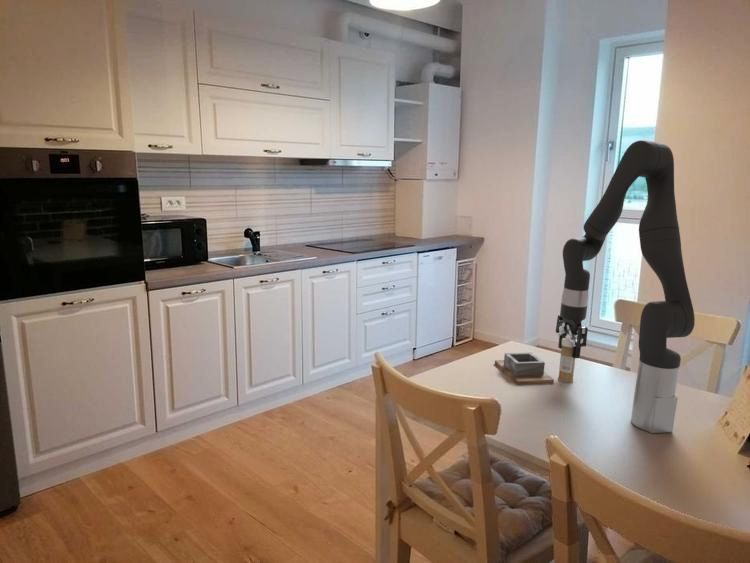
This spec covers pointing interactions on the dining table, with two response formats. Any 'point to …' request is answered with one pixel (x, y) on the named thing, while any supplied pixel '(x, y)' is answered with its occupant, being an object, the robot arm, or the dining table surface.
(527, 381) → the socket holder
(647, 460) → the dining table surface
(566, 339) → the sprinkles bottle
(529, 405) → the dining table surface
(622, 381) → the dining table surface
